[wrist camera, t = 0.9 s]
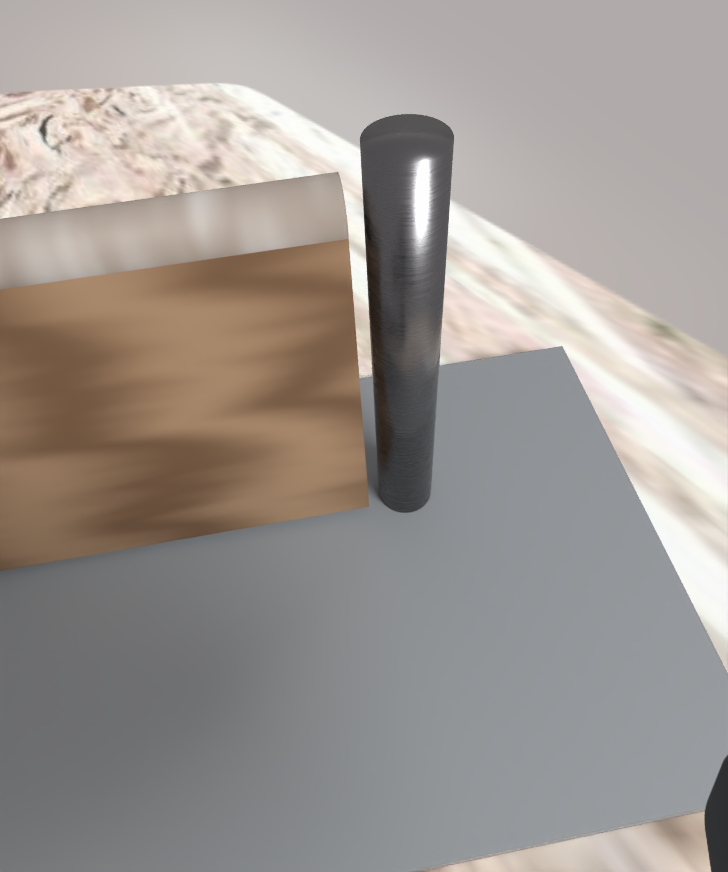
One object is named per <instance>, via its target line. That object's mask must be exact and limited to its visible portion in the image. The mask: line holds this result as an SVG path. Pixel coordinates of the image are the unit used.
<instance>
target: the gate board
mask: <svg viewBox="0 0 728 872" xmlns="http://www.w3.org/2000/svg"><path fill="white" fill-rule="evenodd" d="M359 381H360V394H361V407H362V420H363V433H364V446H365V459H366V471H367V484H368V497H369V507H365V508H359V509H353V510H348V511H342V512H336V513H330V514H325V515H319V516H313V517H307V518H302V519H296V520H290V521H284V522H279V523H273V524H267V525H261V526H256V527H250V528H244V529H238V530H233V531H227V532H221V533H215V534H210V535H204V536H198V537H192V538H187V539H181V540H175V541H169V542H164V543H158V544H152V545H146V546H141V547H135V548H129V549H123V550H118V551H112V552H106V553H100V554H95V555H89V556H83V557H77V558H72V559H66V560H60V561H54V562H49V563H43V564H37V565H31V566H26V567H20V568H14V569H8V570H3V571H0V872H420V871H425V870H430V869H434V868H439V867H444V866H448V865H453V864H458V863H463V862H467V861H472V860H477V859H481V858H486V857H491V856H495V855H500V854H505V853H510V852H514V851H519V850H524V849H528V848H533V847H538V846H542V845H547V844H552V843H556V842H561V841H566V840H571V839H575V838H580V837H585V836H589V835H594V834H599V833H603V832H608V831H613V830H618V829H622V828H627V827H632V826H636V825H641V824H646V823H650V822H655V821H660V820H665V819H669V818H674V817H679V816H683V815H688V814H693V813H697V812H702V811H705V807H706V803H707V800H708V797H709V795H710V792H711V790H712V787H713V785H714V782H715V780H716V777H717V775H718V772H719V770H720V767H721V765H722V762H723V760H724V759H725V757H726V756H727V755H728V673H727V671H726V669H725V667H724V665H723V663H722V661H721V659H720V657H719V655H718V653H717V651H716V649H715V647H714V645H713V643H712V641H711V639H710V637H709V635H708V634H707V632H706V630H705V628H704V626H703V624H702V622H701V620H700V618H699V616H698V614H697V612H696V610H695V608H694V606H693V604H692V602H691V600H690V598H689V596H688V594H687V592H686V590H685V588H684V586H683V584H682V582H681V580H680V578H679V576H678V574H677V572H676V570H675V568H674V566H673V564H672V562H671V560H670V558H669V556H668V554H667V552H666V550H665V548H664V546H663V545H662V543H661V541H660V539H659V537H658V535H657V533H656V531H655V529H654V527H653V525H652V523H651V521H650V519H649V517H648V515H647V513H646V511H645V509H644V507H643V505H642V503H641V501H640V499H639V497H638V495H637V493H636V491H635V489H634V487H633V485H632V483H631V481H630V479H629V477H628V475H627V473H626V471H625V469H624V467H623V465H622V463H621V461H620V459H619V457H618V456H617V454H616V452H615V450H614V448H613V446H612V444H611V442H610V440H609V438H608V436H607V434H606V432H605V430H604V428H603V426H602V424H601V422H600V420H599V418H598V416H597V414H596V412H595V410H594V408H593V406H592V404H591V402H590V400H589V398H588V396H587V394H586V392H585V390H584V388H583V386H582V384H581V382H580V380H579V378H578V376H577V374H576V372H575V370H574V368H573V367H572V365H571V363H570V361H569V359H568V357H567V355H566V353H565V351H564V349H563V347H562V346H560V347H554V348H548V349H542V350H535V351H529V352H523V353H517V354H510V355H504V356H498V357H492V358H485V359H479V360H473V361H467V362H461V363H454V364H448V365H442V366H439V376H438V391H437V406H436V422H435V437H434V453H433V468H432V484H431V495H430V498H429V500H428V502H427V503H426V504H425V505H424V506H423V507H422V508H421V509H419V510H417V511H414V512H410V513H400V512H396V511H393V510H391V509H389V508H388V507H387V506H386V505H385V504H384V503H383V502H382V500H381V498H380V496H379V487H378V468H377V449H376V431H375V412H374V393H373V377H367V378H361V379H359Z"/></svg>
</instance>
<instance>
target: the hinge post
mask: <svg viewBox="0 0 728 872" xmlns="http://www.w3.org/2000/svg"><path fill="white" fill-rule="evenodd" d="M453 144H454V135H453V132H452V130H451V129H450V127H449V126H447V125H446V124H445V123H443V122H442V121H440V120H438V119H435V118H432V117H429V116H424V115H416V114H402V115H394V116H389V117H386V118H383V119H380V120H377V121H375V122H373V123H372V124H370V125H369V126H367V127H366V128H365V129H364V131H363V132H362V134H361V137H360V149H361V168H362V187H363V205H364V224H365V243H366V262H367V281H368V299H369V318H370V337H371V356H372V374H373V393H374V412H375V431H376V449H377V468H378V487H379V496H380V498H381V500H382V502H383V503H384V504H385V505H386V506H387V507H388V508H389V509H391V510H393V511H396V512H400V513H410V512H414V511H417V510H419V509H421V508H422V507H423V506H424V505H425V504H426V503H427V502H428V500H429V498H430V495H431V484H432V468H433V453H434V437H435V422H436V406H437V391H438V376H439V360H440V345H441V329H442V314H443V299H444V283H445V268H446V252H447V237H448V222H449V206H450V191H451V175H452V159H453Z"/></svg>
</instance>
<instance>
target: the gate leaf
mask: <svg viewBox="0 0 728 872" xmlns="http://www.w3.org/2000/svg"><path fill="white" fill-rule="evenodd" d="M365 507H369V497H368V484H367V471H366V459H365V446H364V433H363V420H362V407H361V394H360V381H359V368H358V355H357V342H356V330H355V317H354V304H353V291H352V278H351V265H350V252H349V239H348V224H347V215H346V207H345V200H344V194H343V189H342V184H341V180H340V176H339V173H338V172H335V173H328V174H321V175H314V176H306V177H299V178H292V179H285V180H278V181H270V182H263V183H256V184H249V185H242V186H234V187H227V188H220V189H213V190H206V191H198V192H191V193H184V194H177V195H170V196H162V197H155V198H148V199H141V200H134V201H126V202H119V203H112V204H105V205H98V206H90V207H83V208H76V209H69V210H62V211H54V212H47V213H40V214H33V215H26V216H18V217H11V218H4V219H0V571H3V570H8V569H14V568H20V567H26V566H31V565H37V564H43V563H49V562H54V561H60V560H66V559H72V558H77V557H83V556H89V555H95V554H100V553H106V552H112V551H118V550H123V549H129V548H135V547H141V546H146V545H152V544H158V543H164V542H169V541H175V540H181V539H187V538H192V537H198V536H204V535H210V534H215V533H221V532H227V531H233V530H238V529H244V528H250V527H256V526H261V525H267V524H273V523H279V522H284V521H290V520H296V519H302V518H307V517H313V516H319V515H325V514H330V513H336V512H342V511H348V510H353V509H359V508H365Z"/></svg>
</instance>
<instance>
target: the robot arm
mask: <svg viewBox="0 0 728 872" xmlns="http://www.w3.org/2000/svg"><path fill="white" fill-rule="evenodd" d="M705 831H706V838H707V845H708V852H709V859H710V866H711V872H728V755H727V756H726V757H725V759H724V760H723V762H722V765H721V767H720V770H719V772H718V775H717V777H716V780H715V782H714V785H713V787H712V790H711V792H710V795H709V797H708V800H707V803H706V807H705Z"/></svg>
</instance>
